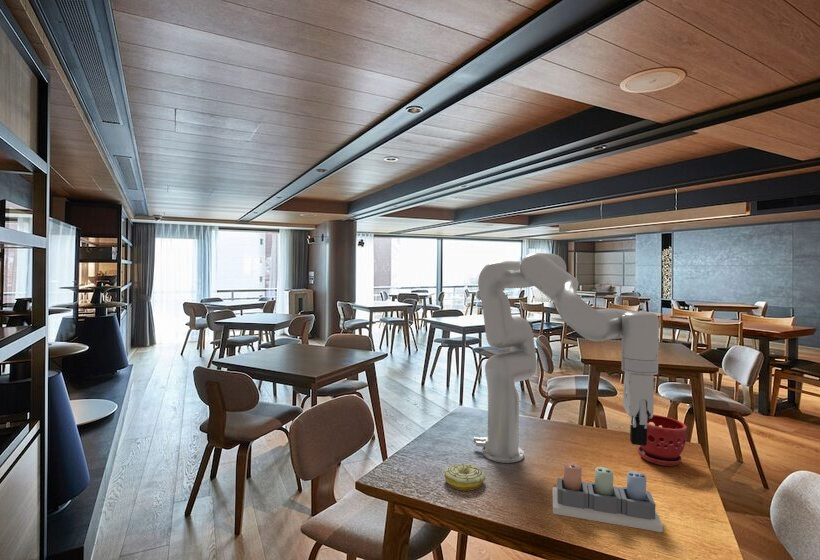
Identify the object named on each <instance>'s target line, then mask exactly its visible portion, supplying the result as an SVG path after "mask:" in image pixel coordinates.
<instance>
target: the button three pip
mask: <svg viewBox="0 0 820 560" xmlns="http://www.w3.org/2000/svg"><path fill="white" fill-rule="evenodd" d="M626 487H627V496H628V497H629V498H630V499H633V500H638V501H645V500H646V491H647V475H645V474H644V473H642V472H639V471H634V470H633V471H632V470H631V471H628V472H627V473H626Z"/></svg>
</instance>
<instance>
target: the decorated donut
mask: <svg viewBox="0 0 820 560" xmlns="http://www.w3.org/2000/svg"><path fill="white" fill-rule="evenodd" d="M444 478H445V482H446V483H447V484H448V486H450V487H451V488H453V489H455V490H456V491H457V490H459V491H464V492H468V491H472V490H474V491H475V490H477V489H479V488H480V487H481V486H482V484H483V483H484V481H485V480H486V474H485V473H484V471H483V470H482V469H481V468H480V467H478V466H476V465H473V464H472V463H455V464H452V465H450V466H448V467H446V469H444Z"/></svg>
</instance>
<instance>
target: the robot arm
mask: <svg viewBox="0 0 820 560" xmlns="http://www.w3.org/2000/svg"><path fill="white" fill-rule="evenodd" d="M521 259H522V260H520V261H519V260H496V261H491V262H489V263H488V264H486V265H485V266H484V267H483V268H482V269H481V271H480V273H479V275H478V280H477V286H478V287H477V288H478V293H479V296H480V297H479V298H480V300H481V304H482V314H483V319H484V321H483V322H484V330H485V338H486V341H487V344H488V345H489V346H490V347H491V348H493V349H508V348H509V350H510V351H505V352H504V351H503V352H498V353H495V354H493V355H491V356H490V357H489V358H488V359H487V361H486V362H485V365H484V373H485V378H486V384H487V435H486V436H484V437H480V436H473V440H472V441H473V444H475V446H476V447H482V449H481V452H482V455H483V456H484V457H485V458H487V459H488V460H490V461H494V462H497V463H503V464H511V463H518V462H520V461H522V460H523V459H524V457H525V453H524V450H523V449H522V448H521V447H520V445H519V444H520V439H519V438H520V397H519V395H520V394H519V392H518V390H517V387H516V385H515V384H516V383H518V382H522V381H527V380H530V379H531V378H532V377H534V376H535V374H536V372H537V366H538V364H537V363H538V360H537V354H536V346H535V339H534V332H533V328H532V327H531V324H530V323H529V321H528V320H527V319H525V317H524V318H523V317H521V316H517V315H516V316H515V315H514V316H513V315H512V311H511V303H510V300H509V298H508V296H507V295H506V293H505V292H504V290H505V289H525V288H531V287H535V288H536V289H537V290H539V292H541V293H542V294H543V295H545V296H546V298H548V299H550V300H551V301H552V302H553V303H554V306H555V309H556V311H557V313H558V315H559V317H560V318H561V320H563V322H564V323H565V324H566V325H568V326H569V327H570V328H571V329H572V330H573V331H575V332H576V333H577V334H578V335H580V336H581V337H583V338H584V339H585V340H588V341H592V342H603V341H608V340H609V341H610V340H615V339H621V367H620V368H621V371H622V372H624V378H623V380H624V381H623V395H622V396H623V397H622V407H623V409H624V410H625V413H626V414H627V415H628V417H630V427H629V428H630V429H629V432H630V434H629V437H630V438H629V439H630V440H629V441H630V443H631V444H632V445H635V446H640V445H643V446H646V445H647V416H648V418H649V419H651V418H652V417H653V415H654V406H655V405H654V404H655V403H654V401H655V399H654V395H655V394H654V385H655V384H654V376H655V375H658V374H659V348H660V347H659V343H660V342H659V341H660V340H659V338H660V337H659V336H660V331H659V330H660V321H659V320H660V319H659V316H658V315H657V314H655V313H654V312H650V311H638V310H637V311H630V310H625V309H622V308H612V307H611V308H600V309H595V308H594V307H592V306H591V305H590V304H588V303H587V302H586V301H584V300H583V299H582V298H581V297H580V296H579V295H578V294H577V291H578V288H579V281H578V279H577V278H576V277H575V276H573V275H572V274H571V273H569V272H568V271H567V264H566V262H565V260H564V259H563V257H561V256H560V255H558V254H555V253H548V252H533V253H530V254H527V255H525V256H524V257H523V258H521Z"/></svg>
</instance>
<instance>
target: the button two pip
mask: <svg viewBox="0 0 820 560" xmlns="http://www.w3.org/2000/svg"><path fill="white" fill-rule="evenodd" d="M594 482H595V492H596V493H598V494H600V495H606V496H611V495H613V486H614V471H613V470H612V469H610V468H608V467H603V466H597V467H595V469H594Z"/></svg>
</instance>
